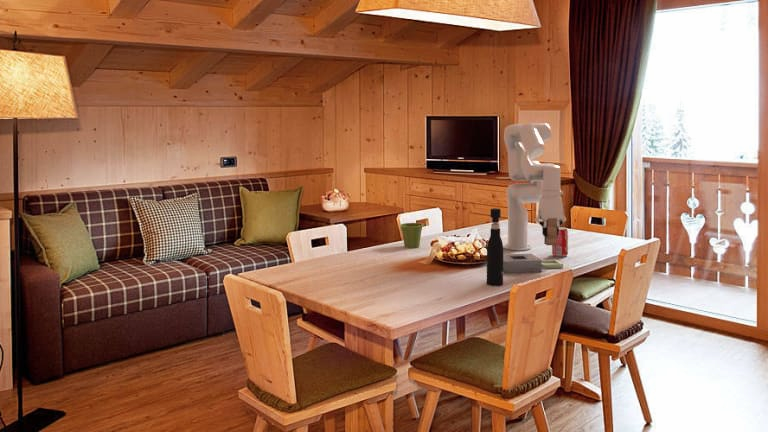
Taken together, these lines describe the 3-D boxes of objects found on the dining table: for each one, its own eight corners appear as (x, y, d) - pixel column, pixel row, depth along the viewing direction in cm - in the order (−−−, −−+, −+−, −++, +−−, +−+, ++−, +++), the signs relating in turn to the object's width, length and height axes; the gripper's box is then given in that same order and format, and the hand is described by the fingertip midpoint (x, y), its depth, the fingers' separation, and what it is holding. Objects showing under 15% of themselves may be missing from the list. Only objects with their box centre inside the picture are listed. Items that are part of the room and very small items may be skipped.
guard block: (495, 266, 329) (495, 254, 329) (531, 264, 331) (531, 253, 331) (504, 273, 316) (504, 261, 315) (541, 271, 318) (541, 260, 317)
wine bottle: (485, 282, 301) (485, 208, 296) (500, 282, 301) (501, 207, 297) (488, 286, 295) (489, 210, 290) (504, 285, 295) (505, 210, 290)
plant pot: (411, 243, 382) (411, 221, 380) (428, 246, 374) (428, 224, 372) (394, 247, 374) (394, 224, 373) (411, 250, 366) (411, 227, 364)
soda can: (568, 257, 345) (568, 229, 343) (551, 257, 347) (552, 229, 345) (567, 254, 352) (568, 226, 350) (551, 253, 354) (552, 226, 352)
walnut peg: (544, 243, 328) (545, 207, 326) (553, 243, 329) (553, 207, 326) (547, 245, 324) (548, 208, 322) (556, 245, 325) (557, 208, 322)
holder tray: (536, 264, 332) (536, 260, 332) (555, 263, 333) (556, 259, 333) (543, 268, 323) (543, 264, 323) (563, 267, 325) (563, 263, 324)
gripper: (566, 192, 328) (565, 234, 331) (529, 193, 326) (528, 235, 329) (573, 194, 321) (572, 237, 324) (535, 195, 319) (534, 238, 321)
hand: (550, 235), depth 326 cm, fingers closed on walnut peg, 4 cm apart
